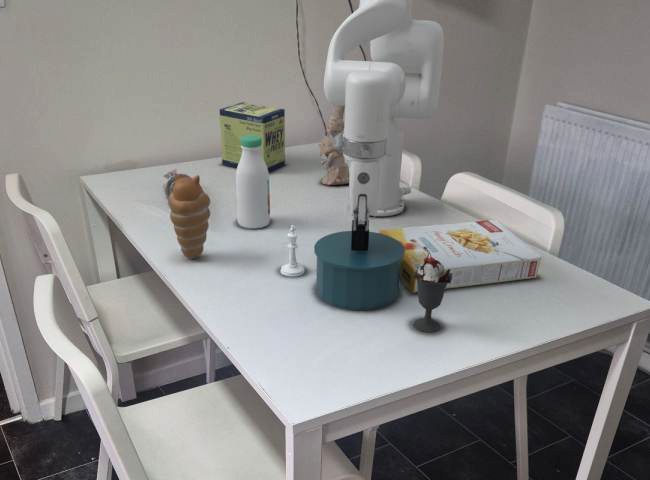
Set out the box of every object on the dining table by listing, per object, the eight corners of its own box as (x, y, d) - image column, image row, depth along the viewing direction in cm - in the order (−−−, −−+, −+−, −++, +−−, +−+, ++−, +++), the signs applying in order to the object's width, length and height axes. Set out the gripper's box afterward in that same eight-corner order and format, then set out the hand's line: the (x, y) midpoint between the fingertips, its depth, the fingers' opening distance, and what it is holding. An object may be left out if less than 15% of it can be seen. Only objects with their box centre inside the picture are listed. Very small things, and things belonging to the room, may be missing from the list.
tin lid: (359, 229, 146) (361, 200, 143) (423, 256, 136) (426, 225, 132) (295, 251, 137) (295, 220, 134) (358, 282, 126) (360, 249, 123)
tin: (357, 266, 150) (359, 228, 145) (415, 293, 140) (419, 253, 135) (299, 288, 142) (299, 248, 137) (356, 319, 132) (359, 277, 127)
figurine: (340, 175, 199) (343, 99, 188) (358, 183, 193) (361, 106, 182) (313, 180, 195) (314, 103, 184) (330, 189, 189) (332, 111, 178)
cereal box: (377, 228, 152) (495, 215, 159) (375, 252, 155) (491, 238, 162) (415, 270, 136) (544, 254, 143) (412, 296, 140) (539, 278, 146)
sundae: (404, 317, 132) (412, 241, 124) (440, 316, 133) (450, 240, 124) (412, 335, 127) (420, 257, 118) (449, 334, 127) (460, 256, 119)
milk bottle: (265, 230, 166) (263, 143, 154) (233, 227, 167) (229, 141, 156) (273, 218, 172) (272, 133, 161) (242, 215, 173) (239, 131, 162)
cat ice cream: (218, 252, 156) (212, 170, 145) (206, 267, 149) (199, 182, 139) (179, 248, 157) (172, 166, 147) (166, 263, 151) (157, 178, 141)
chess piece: (308, 269, 149) (309, 224, 143) (296, 278, 145) (296, 232, 140) (289, 264, 151) (288, 219, 145) (276, 272, 147) (275, 226, 142)
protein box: (265, 174, 199) (263, 116, 190) (221, 164, 206) (217, 108, 197) (286, 165, 206) (285, 108, 197) (243, 155, 213) (240, 101, 204)
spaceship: (170, 200, 159) (201, 183, 160) (149, 169, 189) (176, 155, 189) (186, 230, 164) (217, 214, 164) (164, 195, 193) (190, 181, 193)
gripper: (387, 162, 118) (380, 264, 128) (385, 134, 132) (378, 229, 142) (342, 161, 118) (338, 263, 129) (344, 133, 132) (340, 227, 142)
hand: (359, 244), depth 135 cm, fingers open, 3 cm apart
